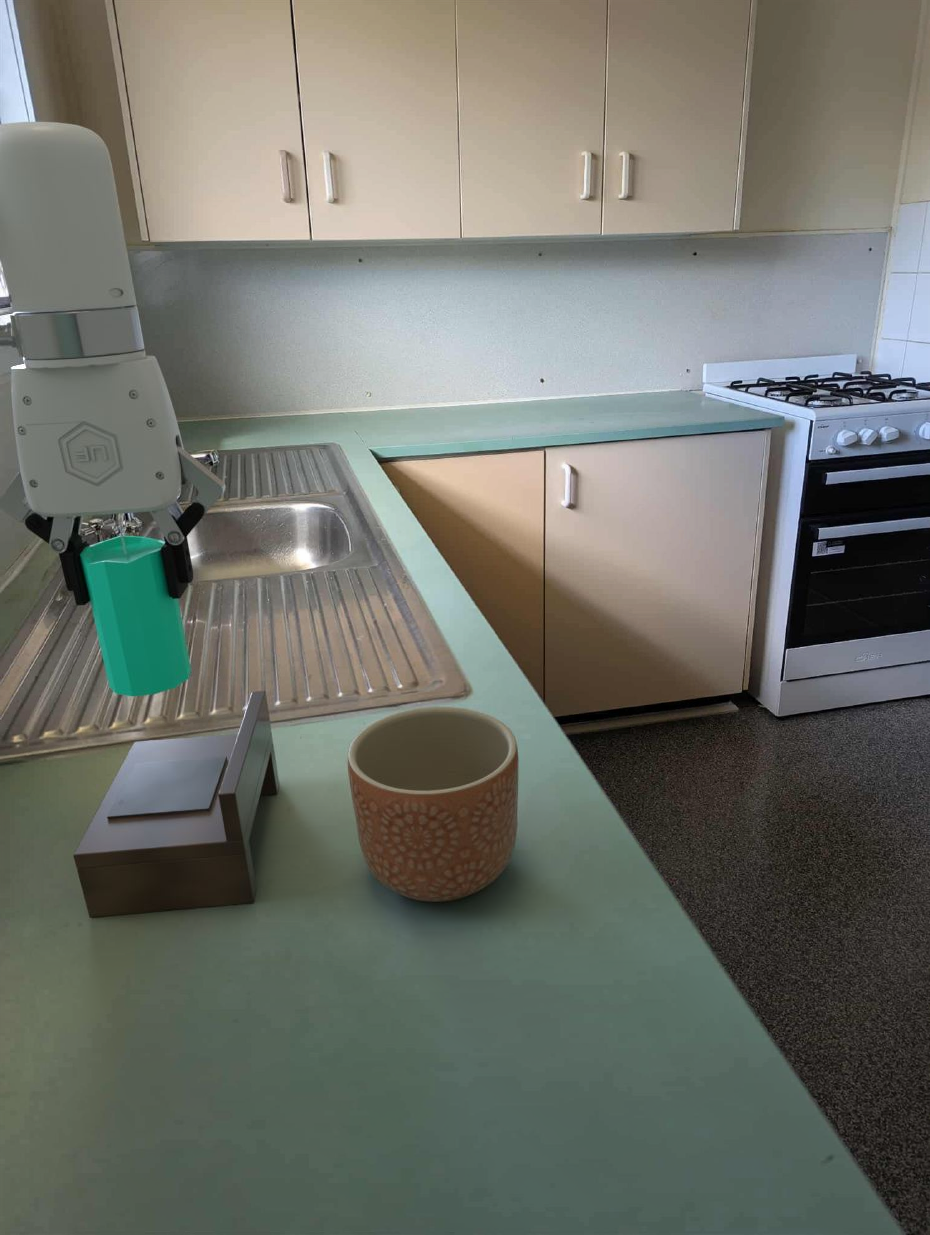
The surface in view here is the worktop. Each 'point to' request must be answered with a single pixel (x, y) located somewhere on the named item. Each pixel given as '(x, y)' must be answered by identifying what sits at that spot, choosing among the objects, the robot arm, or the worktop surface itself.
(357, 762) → the planter
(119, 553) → the candle
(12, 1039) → the worktop surface
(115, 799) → the wooden chair-shaped stand
